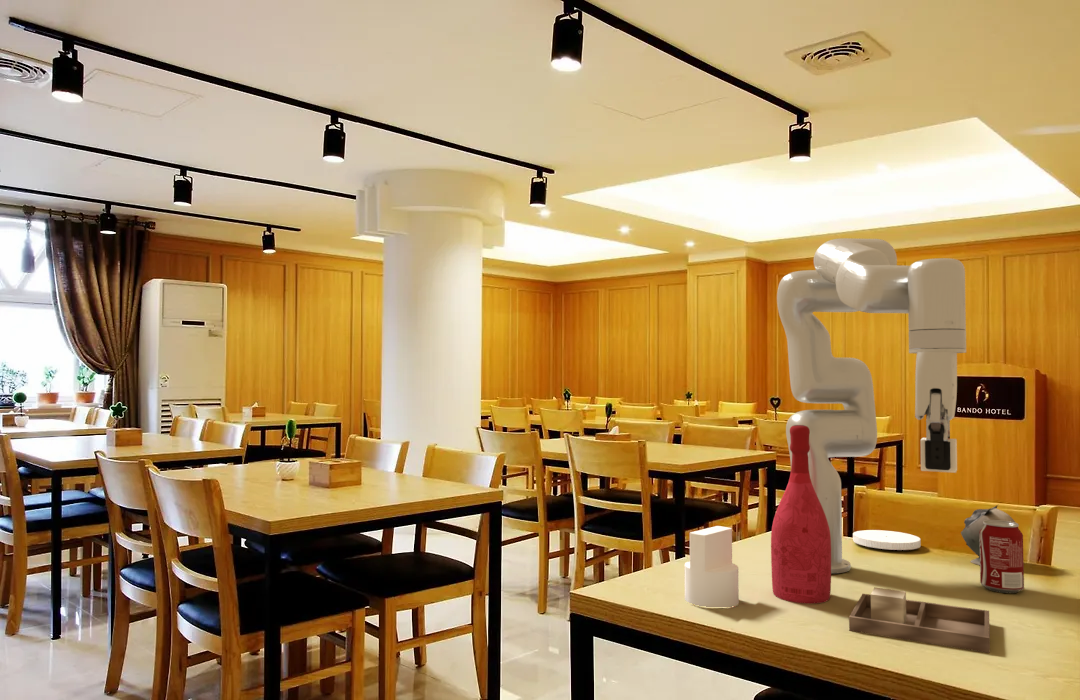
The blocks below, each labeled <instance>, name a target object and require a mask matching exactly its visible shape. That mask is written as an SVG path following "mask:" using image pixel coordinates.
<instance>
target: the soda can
mask: <svg viewBox="0 0 1080 700" xmlns="http://www.w3.org/2000/svg"><path fill="white" fill-rule="evenodd" d="M983 523H984V525H983V527H982V528H981V529H980V531H979V534H980V565H979V570H980V571H979V575H980V576H979V577H980V578H979V579H980V580H979V581H980V582H979V583H980V585H981V586H982V587H985V588H986V589H987V590H988V591H991V592H996V593H1002V594H1017V593H1019V592H1020V591H1023V590H1024V589H1025V578H1024V577H1025V574H1024V573H1025V572H1024V570H1025V569H1024V563H1025V562H1024V535H1023V533H1022V531H1021V530H1020V529H1019V526H1020V525H1019V523H1017V522H1016V521H1015V522H1010V521H1002V520H985V521H983Z"/></svg>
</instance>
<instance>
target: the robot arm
mask: <svg viewBox="0 0 1080 700" xmlns="http://www.w3.org/2000/svg"><path fill="white" fill-rule="evenodd" d="M897 264H898V257H897V253H896V250H895V248H894V246H893V245H891V243H890V242H888V241H886V240H885V239H879V238H852V237H851V238H850V237H849V238H847V237H845V238H842V237H841V238H834V239H829V240H828V241H825V242H824V243H822V244H820V246H819V247H818V248H817V249H816V251H815V253H814V255H813V266H814V269H813V270H812V269H808V270H806V269H805V270H798V271H792V272H789V273H788V274H786V275H784V276H783V277H782V278H781V280H780V281H779V283H778V285H777V286H778V288H777V293H776V304H777V311H778V316H779V318H780V321H781V324H782V326H783V329H784V332H785V336H786V342H787V354H788V355H787V357H788V370H789V373H788V374H789V383H790V389H791V390H790V391H791V393H792V397H794V399H795V400H796V401H797V402H798V401H799V402H801V403H805V404H842V406H843V408H844V409H805V410H800V411H796V412H795V413H793V414H792V415H790V417H789V418H788V420H787V422H786V425H785V435H786V440H787V441H786V442H787V445H788V451H789V458H790V459H789V460H790V466H791V465H792V452H791V450H790V444H791V439H790V437H791V436H790V428H791V427H792V426H794V425H805V426H807V427H808V428H809V430H810V434H809V445H810V450H809V452H808V463H809V473H810V478H811V482H812V485H813V488H814V490H815V492H816V495H817V497H818V499H819V501H820V503H821V506H822V508H823V510H824V513H825V516H826V518H827V522H828V525H829V529H830V536H831V575H833V574H841V573H846V572H849V571H850V570H851V567H852V565H851V562H850V561H849V560H847V559H845V558H843V531H842V530H843V528H842V525H843V522H842V521H843V520H842V519H843V518H842V514H843V513H842V508H843V507H842V479H841V477H840V474H839V473H838V471H837V469H836V468H835V467H834V466H833V464H832V463H831V461H830V460H829V458H835V457H836V458H844V457H845V458H846V457H847V458H848V457H849V458H851V457H852V458H857V457H860V458H861V457H866V456H868V455H870V454H872V453H873V452H874V450H875V449H876V445H877V441H878V427H877V425H878V424H877V416H876V404H875V393H874V383H873V377H872V373H871V371H870V369H869V367H868V365H867V364H866V363H865V362H864V361H862V360H860V359H858V358H855V357H835V356H834V355H833V353H832V345H831V344H832V343H831V335H830V332H829V331H828V329H827V328H826V326H825V325H824V324H823V322H822V321H821V320H820V319H819V318H818V317H817V315H814V312H815V313H855V312H856V313H857V312H862V313H869V314H907V315H908V354H916V356H915V357H916V358H915V374H914V375H915V379H914V381H915V383H914V384H915V403H914V406H915V407H914V417H915V418H916V420H918V421H921V420H922V419H924V417H925V416H926V420H925V422H926V424H925V425H926V428H925V432H926V433H925V436H926V437H925V438H926V441H925V467H926V468H927V469H936V470H949V469H950V467H951V464H950V442H948V438H950V439H951V432H950V431H951V427H950V426H951V425H950V424H951V423H950V421H952V420H953V419H954V418H955V414H956V405H957V395H958V394H957V393H958V354H963V353H965V354H966V353H967V330H966V329H967V327H966V325H967V324H966V323H967V322H966V320H967V319H966V268H965V266H964V264H963V263H962V261H960V260H959V259H956V258H951V257H950V258H949V257H948V258H947V257H945V258H944V257H943V258H942V257H941V258H927V259H921V260H917V261H914V262H913V263H911V264H910V265H897Z"/></svg>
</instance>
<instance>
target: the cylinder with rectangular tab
mask: <svg viewBox="0 0 1080 700" xmlns="http://www.w3.org/2000/svg"><path fill="white" fill-rule="evenodd" d="M739 588H740V587H739V566H738V565H737V564H735V563H733V528H732V527H727V526H721V525H715V526H712V527H707V528H703V529H699V530H695V531H690V532H689V561H686V562H685V563H684V601H685V600H686V601H687V602H689V603H692V604H695V605H699V606H706V607H732V606H735V605H737V604H738V605H739V603H740V601H739V600H740V599H739V595H740V594H739ZM686 601H685V602H686ZM687 602H686V603H687ZM738 605H737V606H738ZM735 607H736V606H735ZM732 608H733V607H732Z"/></svg>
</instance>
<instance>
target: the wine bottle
mask: <svg viewBox="0 0 1080 700" xmlns="http://www.w3.org/2000/svg"><path fill="white" fill-rule="evenodd" d="M809 434H810V430H809V428H808V427H807V426H805V425H794V426H792V427H791V428H790V436H791V437H790V439H791V444H790V450H791V452H792V465H791V464H790V474H789V479H788V483H787V485H786V488H785V490H784V493H783V495H782V497H781V499H780V501H779V503H778V506H777V508H776V511H775V514H774V517H773V521H772V526H771V532H770V533H771V535H770V558H771V561H770V563H771V585H772V593H773V596H775V597H776V598H777V599H780V600H783V601H785V602H790V603H798V604H805V605H806V604H809V605H810V604H811V605H812V604H821V603H826V602H828V601H829V600H830V598H831V590H832V588H831V587H832V574H831V536H830V529H829V525H828V522H827V518H826V516H825V513H824V510H823V508H822V506H821V503H820V501H819V499H818V497H817V495H816V492H815V490H814V488H813V485H812V482H811V478H810V473H809V463H808V452H809V450H810V445H809Z"/></svg>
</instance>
